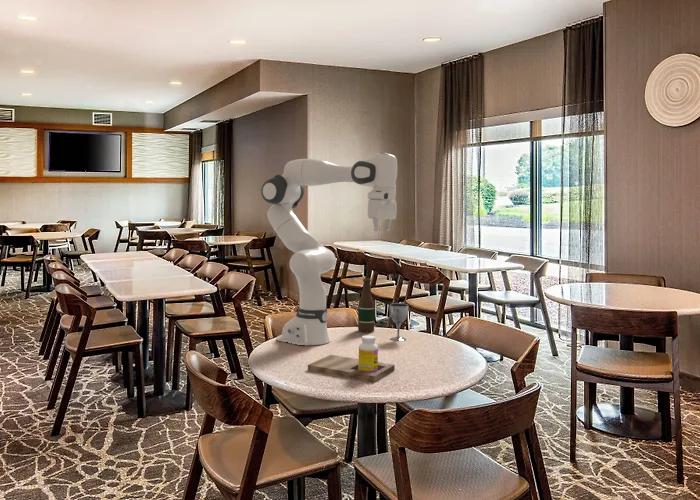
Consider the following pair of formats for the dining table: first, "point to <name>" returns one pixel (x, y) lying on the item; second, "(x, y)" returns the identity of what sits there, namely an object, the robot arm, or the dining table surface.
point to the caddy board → (349, 368)
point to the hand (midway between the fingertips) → (381, 231)
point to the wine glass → (398, 317)
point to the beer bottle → (366, 309)
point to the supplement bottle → (368, 354)
